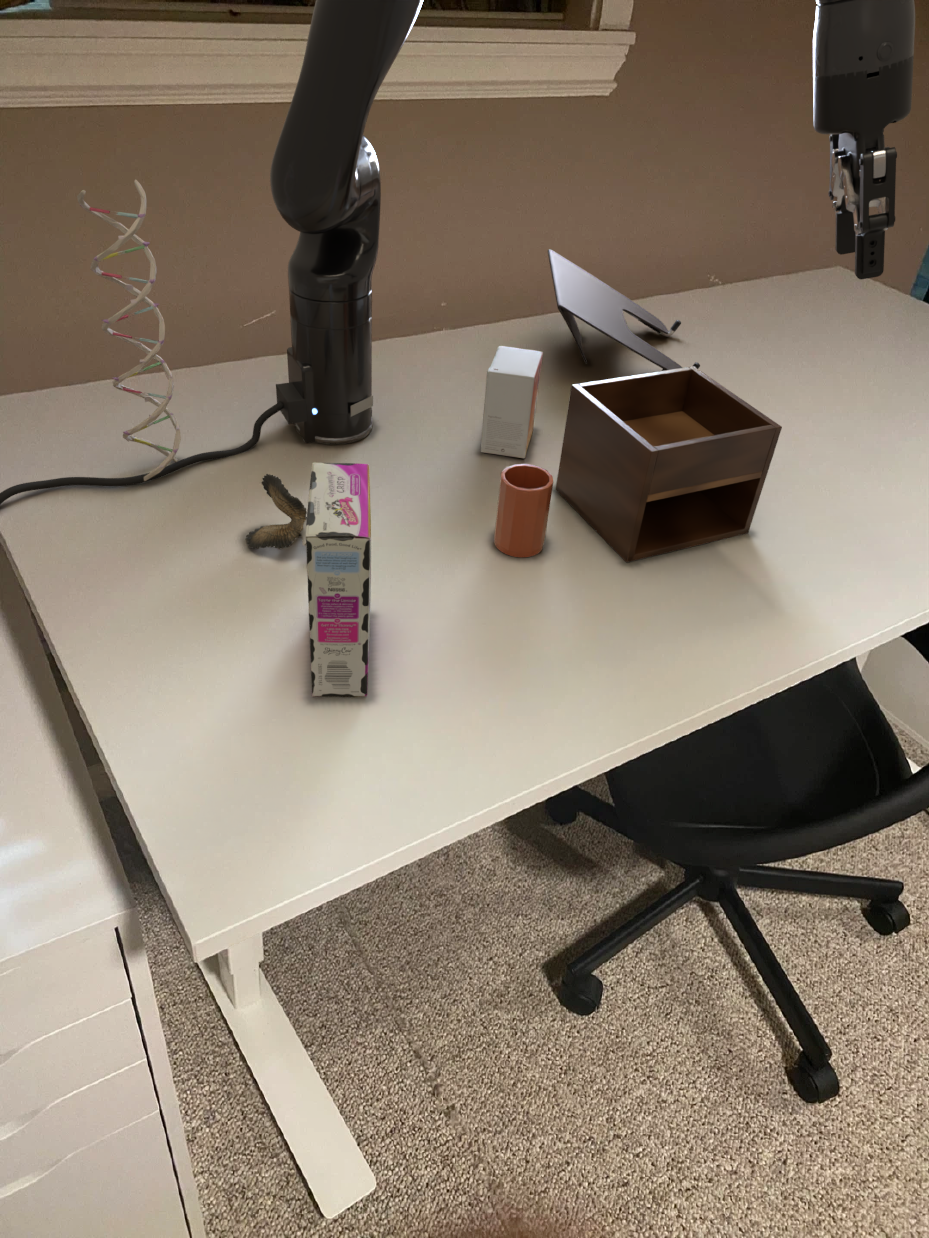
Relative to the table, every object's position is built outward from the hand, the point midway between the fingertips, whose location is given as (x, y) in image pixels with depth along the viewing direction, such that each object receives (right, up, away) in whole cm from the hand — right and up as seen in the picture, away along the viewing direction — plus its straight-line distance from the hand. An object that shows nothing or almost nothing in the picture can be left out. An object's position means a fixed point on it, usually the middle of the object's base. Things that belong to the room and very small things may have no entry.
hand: (858, 264), depth 83 cm
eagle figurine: (-53, -25, +10) cm, 60 cm away
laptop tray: (-13, +7, +53) cm, 55 cm away
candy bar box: (-47, -36, -2) cm, 59 cm away
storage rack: (-15, -20, +20) cm, 32 cm away
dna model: (-70, -16, +19) cm, 74 cm away
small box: (-31, -10, +30) cm, 44 cm away
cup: (-30, -24, +13) cm, 41 cm away
